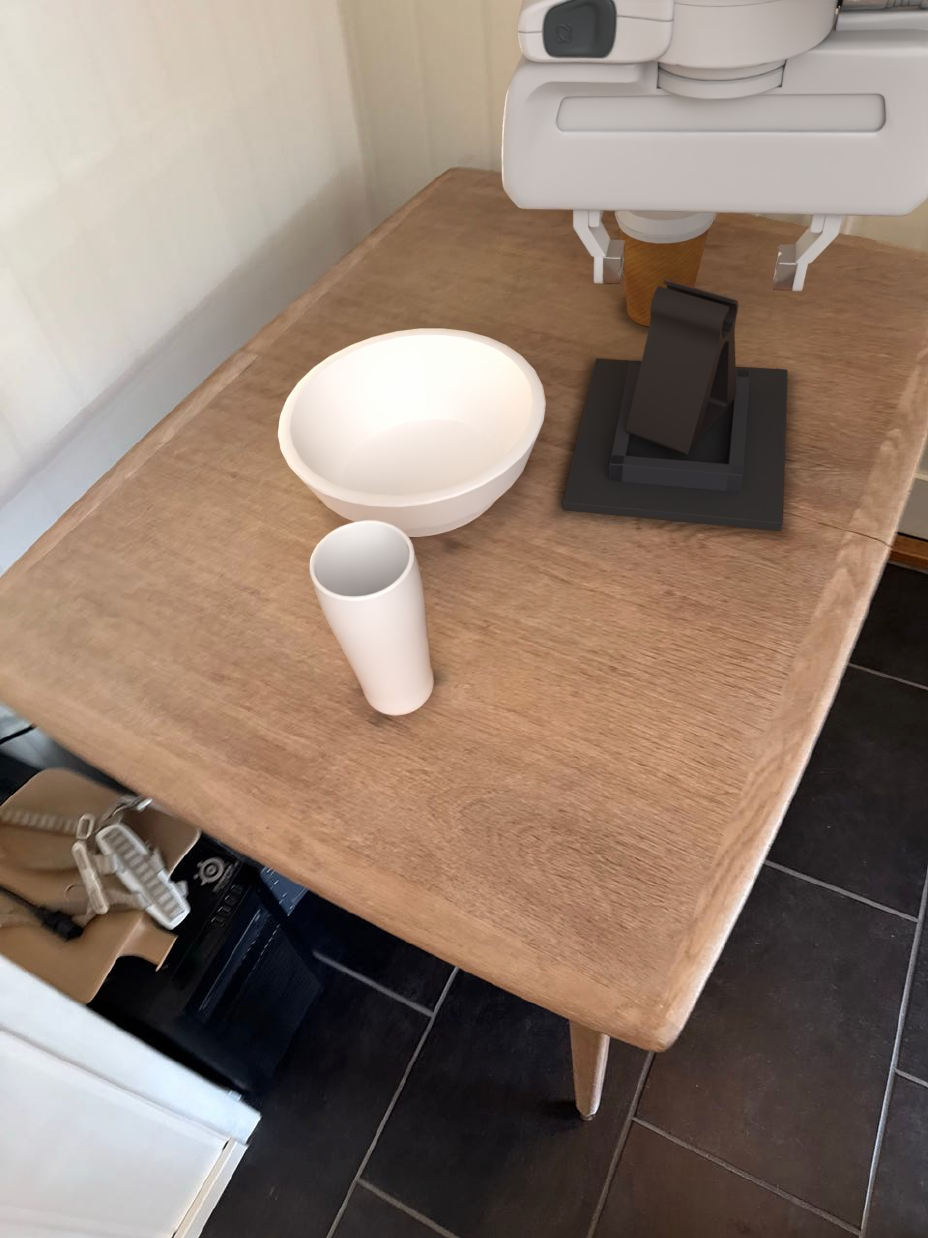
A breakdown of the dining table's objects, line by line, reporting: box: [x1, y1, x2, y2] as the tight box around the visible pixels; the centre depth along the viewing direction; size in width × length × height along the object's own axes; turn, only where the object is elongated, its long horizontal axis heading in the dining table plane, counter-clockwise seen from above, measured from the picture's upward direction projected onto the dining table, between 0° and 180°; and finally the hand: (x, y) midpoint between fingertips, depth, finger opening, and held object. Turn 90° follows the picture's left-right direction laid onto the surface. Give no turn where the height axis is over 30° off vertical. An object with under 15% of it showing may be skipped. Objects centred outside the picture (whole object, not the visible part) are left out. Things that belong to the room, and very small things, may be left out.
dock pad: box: [561, 357, 789, 532], centre depth 78 cm, size 18×20×3 cm
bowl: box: [277, 327, 547, 538], centre depth 76 cm, size 22×22×8 cm
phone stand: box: [626, 280, 739, 456], centre depth 72 cm, size 9×6×12 cm, turn 143°
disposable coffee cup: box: [614, 211, 718, 327], centre depth 87 cm, size 10×10×12 cm
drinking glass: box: [308, 520, 435, 716], centre depth 60 cm, size 7×7×15 cm
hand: (695, 281), depth 48 cm, fingers open, 8 cm apart
